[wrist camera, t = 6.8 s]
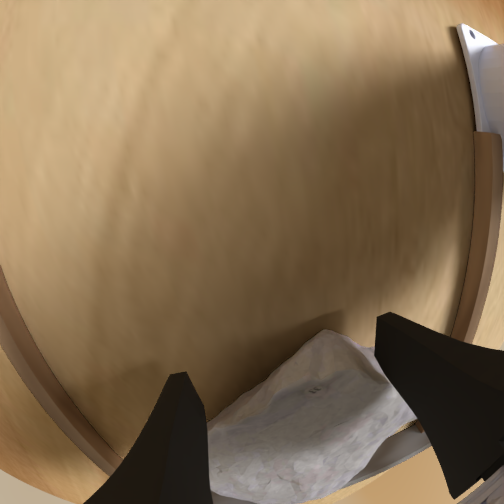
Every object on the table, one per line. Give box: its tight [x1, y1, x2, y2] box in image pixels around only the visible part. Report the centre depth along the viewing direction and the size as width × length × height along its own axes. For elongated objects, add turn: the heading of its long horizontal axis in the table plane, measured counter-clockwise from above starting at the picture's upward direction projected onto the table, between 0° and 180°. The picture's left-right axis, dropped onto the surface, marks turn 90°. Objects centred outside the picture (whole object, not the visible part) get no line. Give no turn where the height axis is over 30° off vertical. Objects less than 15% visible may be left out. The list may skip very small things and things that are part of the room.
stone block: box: [207, 329, 417, 504], centre depth 12 cm, size 12×5×10 cm
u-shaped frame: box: [0, 131, 503, 504], centre depth 11 cm, size 24×23×2 cm
